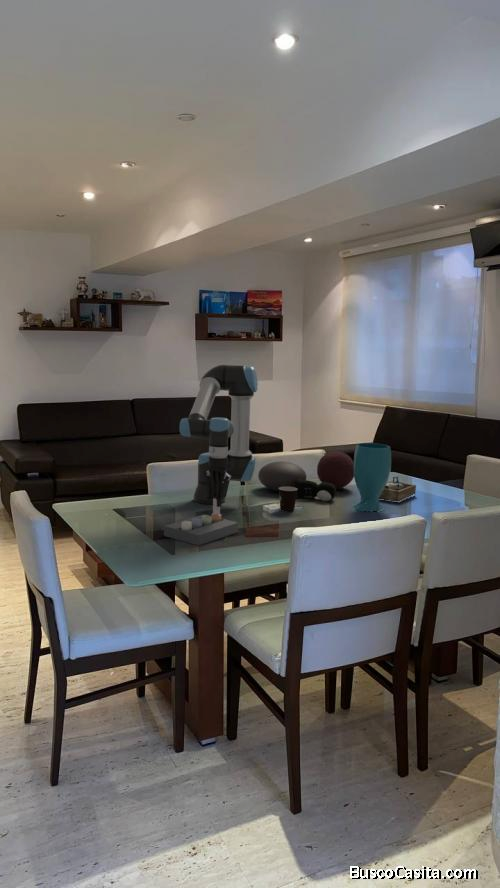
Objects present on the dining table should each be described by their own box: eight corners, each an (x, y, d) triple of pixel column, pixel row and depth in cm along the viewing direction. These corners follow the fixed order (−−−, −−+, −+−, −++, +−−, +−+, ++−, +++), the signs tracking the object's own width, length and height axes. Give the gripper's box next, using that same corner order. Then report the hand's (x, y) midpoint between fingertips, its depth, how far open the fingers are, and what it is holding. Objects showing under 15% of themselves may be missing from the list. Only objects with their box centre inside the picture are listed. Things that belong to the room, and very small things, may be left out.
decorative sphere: (316, 483, 368) (318, 447, 365) (353, 486, 365) (355, 449, 362) (315, 491, 349) (317, 453, 345) (353, 494, 346) (356, 455, 343)
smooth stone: (291, 498, 331) (292, 468, 329) (248, 490, 344) (249, 462, 342) (313, 489, 352) (315, 461, 350) (272, 483, 365) (273, 456, 363)
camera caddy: (372, 498, 337) (372, 486, 336) (389, 492, 354) (390, 480, 353) (398, 503, 329) (399, 491, 328) (415, 496, 346) (416, 485, 345)
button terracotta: (209, 523, 272) (209, 514, 271) (215, 521, 275) (215, 512, 274) (216, 525, 269) (217, 516, 269) (223, 523, 273) (223, 514, 272)
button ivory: (179, 531, 257) (179, 522, 257) (186, 529, 260) (186, 520, 260) (186, 533, 255) (187, 524, 254) (193, 531, 258) (194, 522, 258)
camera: (390, 500, 336) (391, 480, 334) (377, 497, 341) (379, 478, 340) (407, 496, 346) (408, 477, 344) (395, 493, 351) (396, 474, 350)
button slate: (189, 528, 262) (189, 519, 262) (196, 526, 265) (196, 517, 265) (197, 530, 260) (197, 521, 259) (203, 528, 263) (204, 519, 262)
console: (163, 535, 261) (164, 525, 260) (203, 523, 280) (204, 514, 280) (199, 545, 251) (199, 535, 250) (238, 532, 270) (238, 522, 269)
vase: (343, 507, 316) (347, 444, 312) (363, 502, 329) (367, 441, 324) (374, 515, 305) (379, 450, 300) (394, 509, 318) (399, 446, 313)
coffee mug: (295, 513, 303) (296, 491, 302) (276, 511, 305) (277, 489, 303) (298, 507, 314) (299, 486, 313) (280, 505, 316) (281, 484, 314)
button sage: (199, 525, 267) (199, 516, 266) (206, 523, 270) (206, 514, 270) (207, 527, 265) (207, 518, 264) (213, 525, 268) (213, 516, 267)
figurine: (292, 486, 329) (331, 491, 322) (297, 474, 336) (336, 479, 328) (294, 501, 334) (333, 506, 327) (299, 489, 341) (338, 494, 334)
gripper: (199, 455, 269) (198, 512, 272) (225, 459, 261) (223, 518, 265) (211, 453, 275) (209, 509, 278) (236, 457, 267) (234, 515, 271)
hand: (216, 514), depth 271 cm, fingers closed
